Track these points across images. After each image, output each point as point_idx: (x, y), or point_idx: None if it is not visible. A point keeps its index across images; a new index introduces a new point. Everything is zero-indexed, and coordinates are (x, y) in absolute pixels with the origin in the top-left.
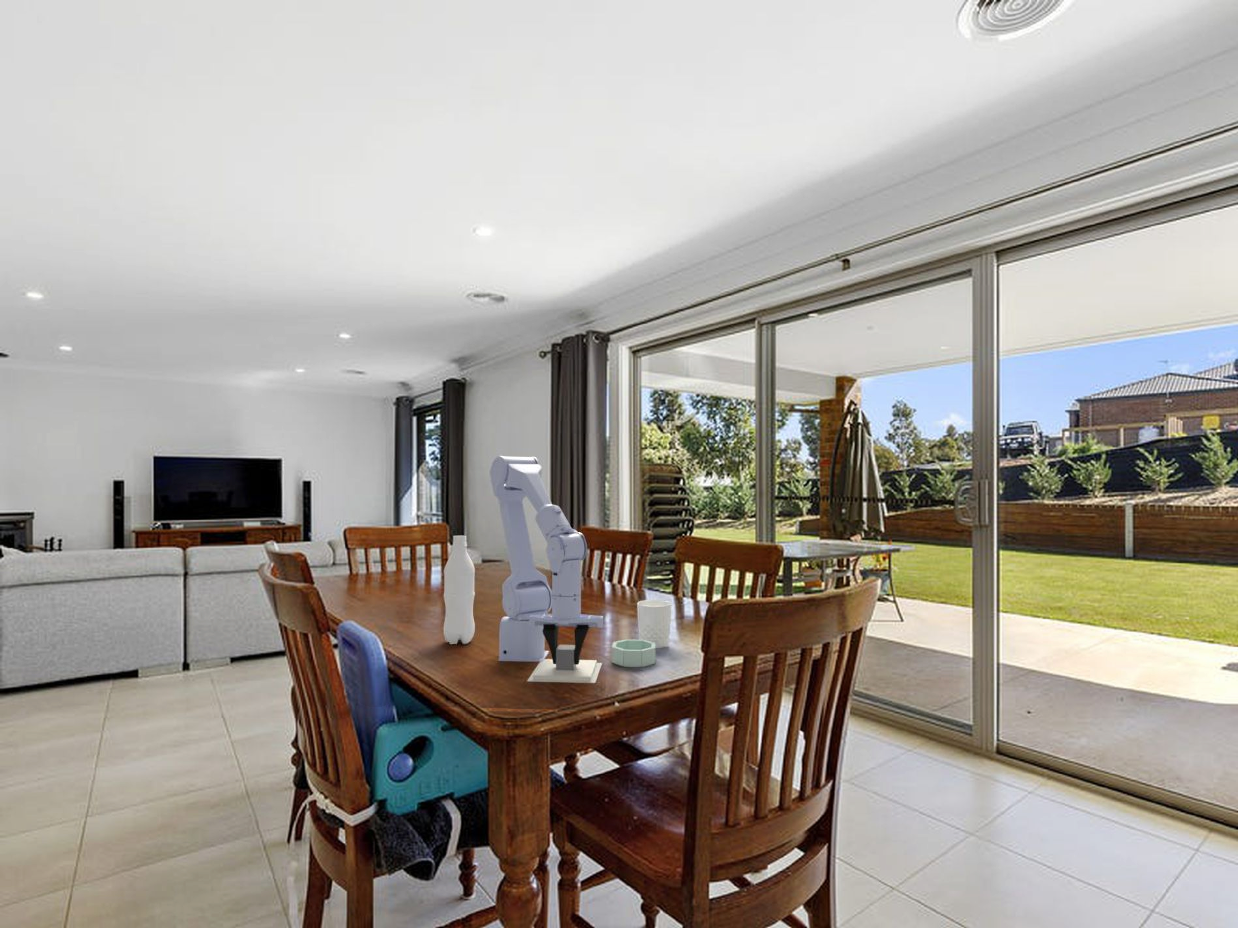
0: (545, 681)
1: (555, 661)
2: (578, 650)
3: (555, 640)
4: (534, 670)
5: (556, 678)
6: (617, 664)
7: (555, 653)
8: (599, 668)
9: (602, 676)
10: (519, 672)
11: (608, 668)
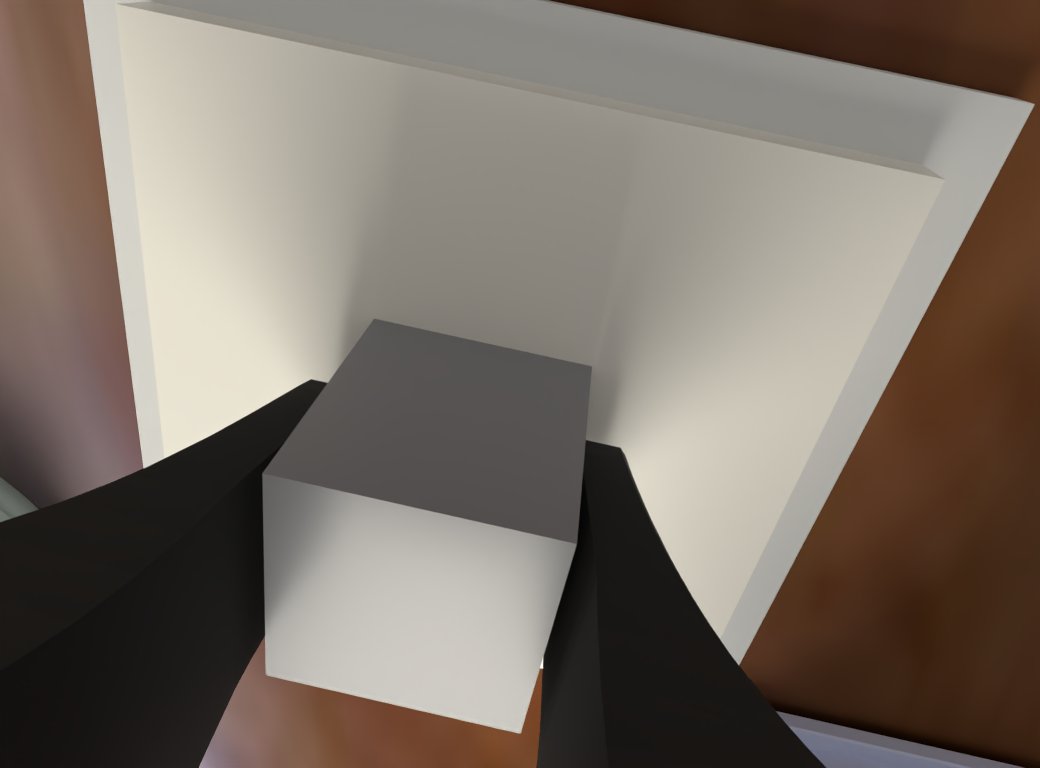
0: (765, 49)
1: (592, 454)
2: (193, 459)
3: (576, 717)
4: (824, 492)
5: (603, 97)
6: (10, 515)
7: (589, 512)
8: (146, 441)
9: (95, 263)
10: (976, 518)
11: (97, 481)
